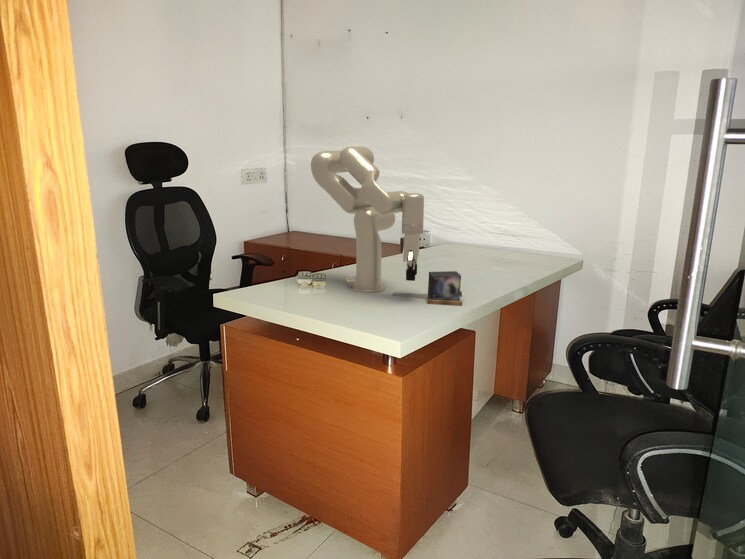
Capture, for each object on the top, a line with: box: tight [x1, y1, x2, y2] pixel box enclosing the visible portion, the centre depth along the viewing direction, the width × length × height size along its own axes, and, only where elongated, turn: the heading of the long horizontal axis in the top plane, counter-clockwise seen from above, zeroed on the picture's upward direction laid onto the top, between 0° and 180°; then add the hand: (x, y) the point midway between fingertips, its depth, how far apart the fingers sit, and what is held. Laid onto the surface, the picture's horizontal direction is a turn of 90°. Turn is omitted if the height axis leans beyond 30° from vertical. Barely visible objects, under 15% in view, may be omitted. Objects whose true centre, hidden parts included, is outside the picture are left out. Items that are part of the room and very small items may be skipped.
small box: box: [427, 270, 462, 301], centre depth 185 cm, size 11×6×10 cm, turn 97°
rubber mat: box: [391, 292, 428, 300], centre depth 189 cm, size 13×11×1 cm
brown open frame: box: [426, 290, 463, 307], centre depth 187 cm, size 12×14×2 cm
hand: (411, 277), depth 186 cm, fingers open, 7 cm apart
